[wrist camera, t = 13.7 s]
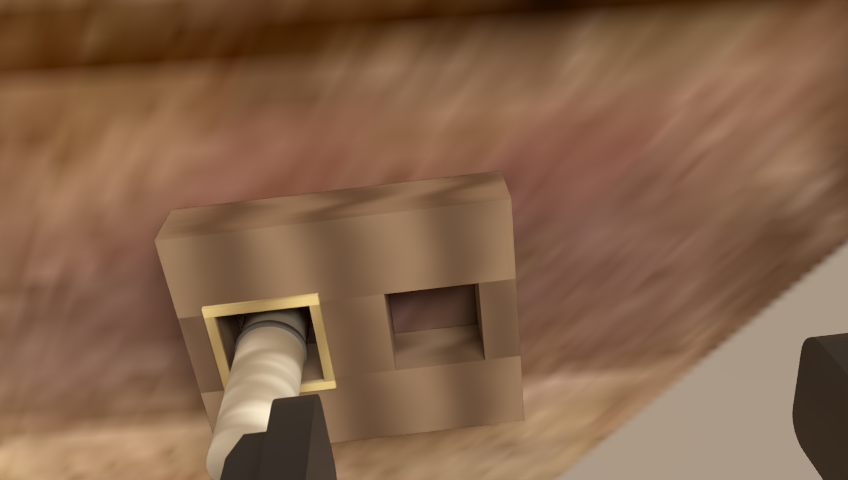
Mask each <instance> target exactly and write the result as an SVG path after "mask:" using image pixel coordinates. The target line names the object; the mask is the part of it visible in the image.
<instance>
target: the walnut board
mask: <svg viewBox="0 0 848 480" xmlns="http://www.w3.org/2000/svg"><path fill="white" fill-rule="evenodd" d="M155 245H156V248H157V251H158V255H159V258H160V261H161V264H162V268H163V271H164V274H165V278H166V281H167V284H168V287H169V291H170V294H171V297H172V301H173V304H174V307H175V310H176V314H177V317H178V320H179V324H180V327H181V330H182V333H183V337H184V340H185V343H186V347H187V350H188V353H189V356H190V360H191V363H192V366H193V370H194V373H195V376H196V379H197V383H198V386H199V389H200V393H201V396H202V399H203V402H204V406H205V409H206V412H207V416H208V419H209V422H210V425H211V429H212V432H213V433H214V430H215V426H216V422H217V419H218V415H219V411H220V408H221V404H222V400H223V397H224V393H225V389H226V386H227V382H228V378H229V375H230V371H231V367H232V364H233V360H234V356H235V355H234V350H235V345H236V342H237V338H238V336H239V335H240V333H241V332H240V328H239V324H238V320H237V316H236V314H243V313H251V312H260V311H268V310H277V309H285V308H294V307H302V306H309V307H310V312H311V317H312V322H313V326H314V331H315V336H316V341H317V343H312V344H306V345H307V357H306V362H305V365H304V367H303V371H302V378H301V385H300V392H299V396H303V395H311V394H318V395H319V396H320V399H321V402H322V407H323V411H324V416H325V421H326V425H327V430H328V435H329V439H330V443H335V442H344V441H353V440H361V439H370V438H378V437H387V436H395V435H404V434H412V433H421V432H430V431H438V430H447V429H455V428H464V427H472V426H481V425H489V424H498V423H507V422H515V421H524V406H523V389H522V372H521V355H520V339H519V322H518V305H517V288H516V272H515V255H514V238H513V221H512V205H511V197H510V194H509V191H508V188H507V186H506V183H505V180H504V177H503V174H502V172H501V171H496V172H488V173H479V174H471V175H462V176H454V177H445V178H437V179H428V180H420V181H412V182H403V183H395V184H386V185H378V186H369V187H361V188H353V189H344V190H336V191H327V192H319V193H310V194H302V195H293V196H285V197H277V198H268V199H260V200H251V201H243V202H234V203H226V204H217V205H209V206H201V207H192V208H184V209H175V210H171V211H170V213H169V215H168V217H167V219H166V220H165V222H164V224H163V226H162V228H161V230H160V231H159V233H158V235H157V237H156V239H155ZM466 284H475V295H476V306H477V317H478V324H473V325H465V326H456V327H448V328H439V329H431V330H422V331H414V332H405V333H397V334H395V333H394V327H393V320H392V313H391V307H390V300H389V294H390V293H398V292H407V291H415V290H424V289H432V288H441V287H449V286H458V285H466Z"/></svg>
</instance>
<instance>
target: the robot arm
mask: <svg viewBox="0 0 848 480" xmlns="http://www.w3.org/2000/svg"><path fill="white" fill-rule="evenodd" d="M793 425H794V429H795V433H796V436H797V439H798V441H799V444H800V446H801V448H802V449H803V451H804V452H805V454H806V455H807V457H808V458H809V460H810V461H811V463H812V464H813V465H814V467H815V468H816V470H817V471H818V473H819V474H820V475H821V477H822V479H823V480H848V333H844V334H836V335H828V336H819V337H811V338H807V339H806V340H805V341H804V343H803V346H802V350H801V356H800V363H799V370H798V377H797V384H796V390H795V397H794V404H793ZM220 480H337V478H336V470H335V463H334V458H333V454H332V449H331V444H330V439H329V435H328V430H327V425H326V421H325V416H324V411H323V407H322V402H321V399H320V396H319V395H318V394H311V395H303V396H294V397H286V398H277V399H274V400H273V401H272V404H271V409H270V415H269V420H268V425H267V431H265V432H257V433H248V434H243V435H242V437H241V438H240V439H239V441H238V442H237V443H236V445H235V446H234V447H233V449H232V450H231V451H230V453H229V454H228V455H227V457H226V458H225V461H224V466H223V470H222V474H221V478H220Z"/></svg>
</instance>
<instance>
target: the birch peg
mask: <svg viewBox="0 0 848 480" xmlns="http://www.w3.org/2000/svg"><path fill="white" fill-rule="evenodd" d="M310 314H311V312H310V307H309V306H302V307H294V308H285V309H277V310H268V311H260V312H251V313H246V316H245V320H244V324H243V327H242V331H241V333H240V335H239V336H238V338H237V342H236V345H235V350H234V355H235V356H234V360H233V364H232V367H231V371H230V375H229V378H228V382H227V386H226V389H225V393H224V397H223V400H222V404H221V408H220V411H219V415H218V419H217V422H216V426H215V430H214V433H213V437H212V441H211V444H210V448H209V451H208V455H207V460H206V466H207V471H208V473H209V475H210V477H211V478H212V479H213V480H220V478H221V474H222V470H223V466H224V461H225V458H226V457H227V455H228V454H229V453H230V451H231V450H232V449H233V447H234V446H235V445H236V443H237V442H238V441H239V439H240V438H241V437H242V435H243V434H248V433H257V432H265V431H267V425H268V420H269V415H270V409H271V404H272V401H273V400H274V399H277V398H286V397H294V396H299V392H300V385H301V378H302V371H303V367H304V365H305V362H306V357H307V345H306V342H307V335H308V328H309V321H310Z"/></svg>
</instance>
